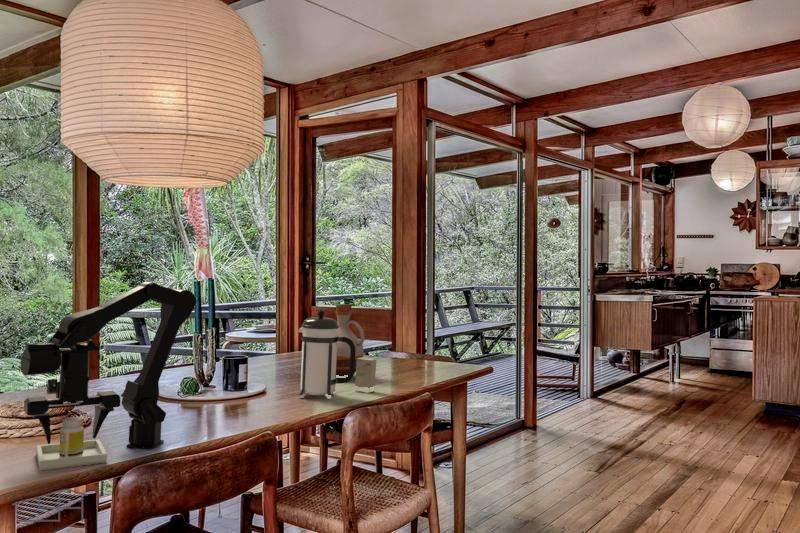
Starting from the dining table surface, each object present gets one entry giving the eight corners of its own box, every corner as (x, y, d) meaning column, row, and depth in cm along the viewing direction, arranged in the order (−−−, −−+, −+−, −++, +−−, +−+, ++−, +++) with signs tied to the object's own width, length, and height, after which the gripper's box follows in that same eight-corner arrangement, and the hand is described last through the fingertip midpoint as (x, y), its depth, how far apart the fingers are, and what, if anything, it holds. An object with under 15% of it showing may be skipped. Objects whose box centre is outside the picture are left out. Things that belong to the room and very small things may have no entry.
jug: (374, 378, 262) (377, 305, 262) (348, 384, 247) (351, 306, 247) (336, 372, 273) (339, 302, 273) (309, 377, 257) (312, 303, 257)
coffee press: (312, 403, 210) (315, 312, 210) (287, 394, 223) (291, 308, 223) (355, 398, 221) (358, 311, 221) (329, 390, 234) (333, 308, 234)
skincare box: (354, 391, 233) (355, 358, 233) (360, 389, 237) (361, 357, 237) (369, 393, 230) (371, 360, 230) (375, 391, 234) (376, 358, 234)
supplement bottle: (86, 453, 146) (88, 416, 146) (76, 459, 141) (78, 421, 141) (65, 452, 146) (67, 416, 146) (54, 459, 141) (56, 421, 141)
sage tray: (98, 447, 152) (99, 439, 152) (106, 463, 141) (106, 454, 141) (36, 454, 145) (36, 445, 145) (39, 470, 134) (39, 461, 134)
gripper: (110, 363, 156) (107, 427, 156) (21, 368, 144) (18, 437, 144) (122, 370, 147) (119, 438, 147) (29, 376, 135) (26, 450, 135)
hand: (71, 440), depth 143 cm, fingers open, 9 cm apart
